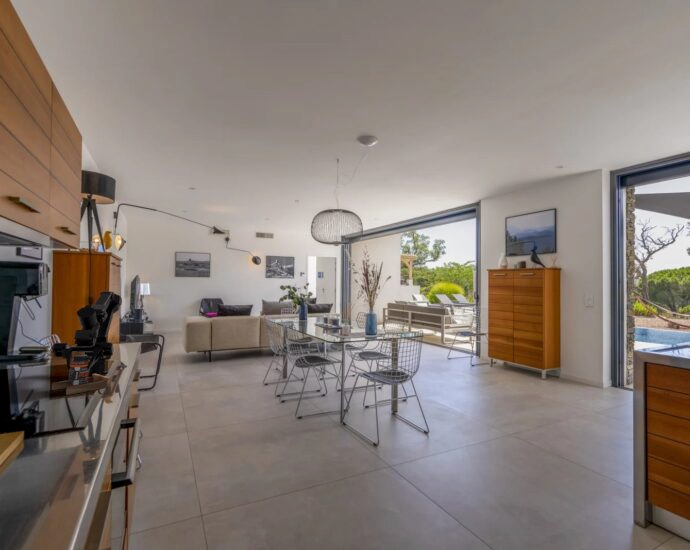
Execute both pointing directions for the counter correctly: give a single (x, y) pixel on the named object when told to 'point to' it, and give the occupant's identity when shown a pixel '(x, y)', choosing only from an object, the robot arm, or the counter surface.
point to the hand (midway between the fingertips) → (78, 368)
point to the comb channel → (93, 384)
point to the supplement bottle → (78, 371)
